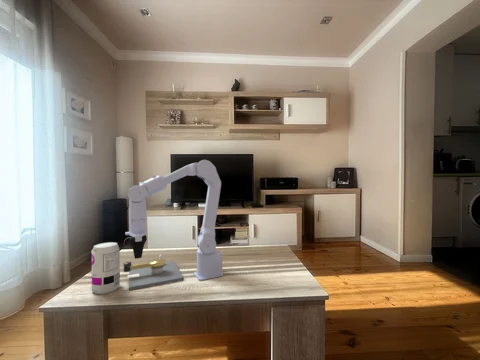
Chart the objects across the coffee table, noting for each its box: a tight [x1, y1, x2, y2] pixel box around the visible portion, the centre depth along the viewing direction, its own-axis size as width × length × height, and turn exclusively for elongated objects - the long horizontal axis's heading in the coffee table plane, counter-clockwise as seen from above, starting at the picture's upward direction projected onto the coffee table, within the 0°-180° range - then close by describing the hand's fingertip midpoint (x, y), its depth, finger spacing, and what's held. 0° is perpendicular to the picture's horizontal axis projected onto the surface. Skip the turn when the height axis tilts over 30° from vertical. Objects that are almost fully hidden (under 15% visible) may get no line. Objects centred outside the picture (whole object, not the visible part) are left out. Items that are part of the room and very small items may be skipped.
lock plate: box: [127, 254, 184, 291], centre depth 91 cm, size 18×21×5 cm
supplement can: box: [91, 241, 121, 295], centre depth 79 cm, size 8×8×15 cm
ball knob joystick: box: [123, 258, 166, 273], centre depth 89 cm, size 15×6×3 cm, turn 115°
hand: (138, 257), depth 83 cm, fingers closed
